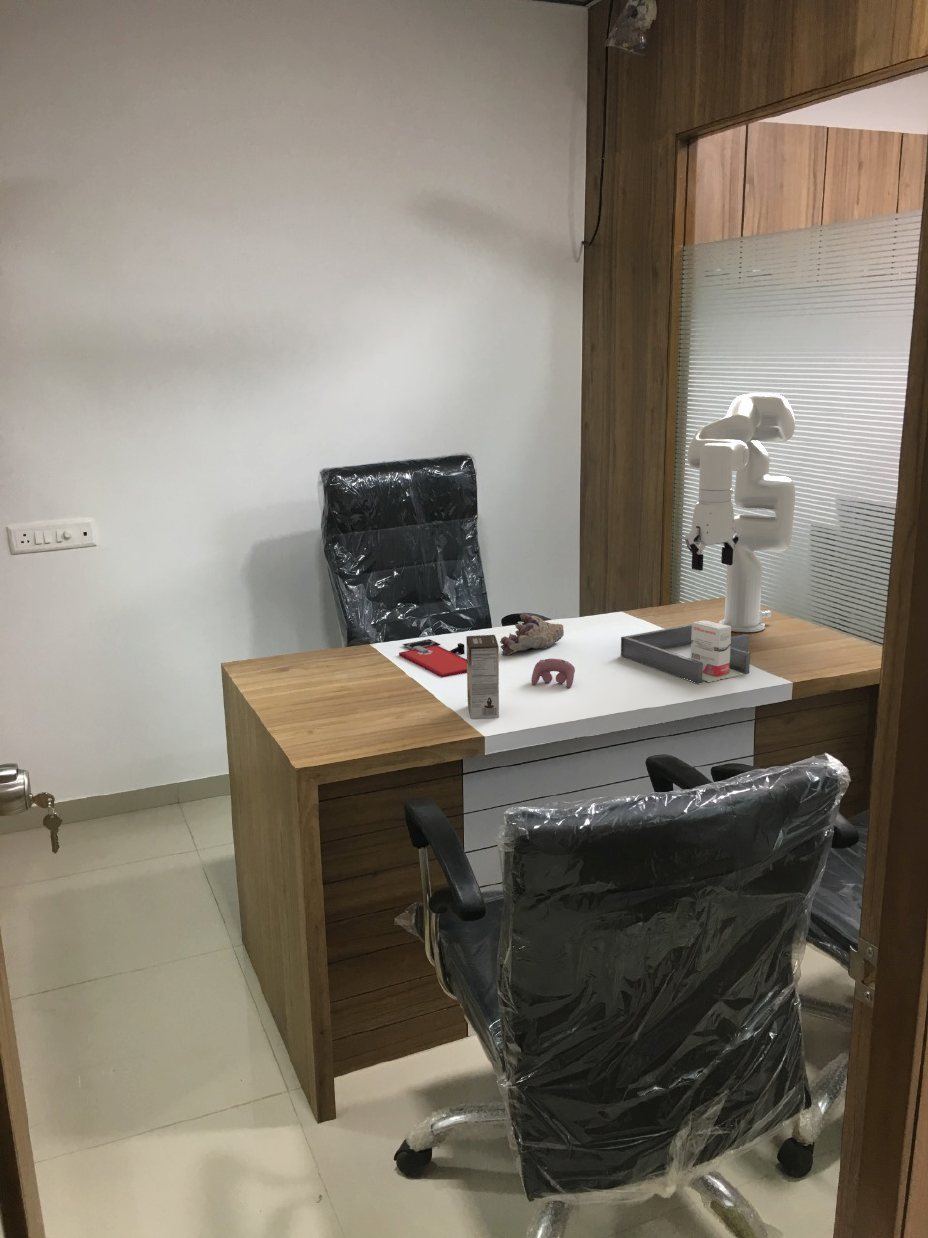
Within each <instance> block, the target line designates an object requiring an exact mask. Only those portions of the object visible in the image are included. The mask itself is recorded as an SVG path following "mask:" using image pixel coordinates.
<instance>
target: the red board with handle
mask: <svg viewBox="0 0 928 1238" xmlns="http://www.w3.org/2000/svg"><path fill="white" fill-rule="evenodd" d="M402 645H403V646H405V647H406V648H409V650H407V651H406V650H405V651H400V652H399V653H398V656H399V657H400V658H402V659H405V660H406V661H408V662H411V663H413V664H415V665H416V666H419V668H422V669H424V670H426V671H428V672H430V673H432V674H434V675H436V676H438V677H440V678H446V677H452V676H459V675H463V674H467V658H464V657H463V656H462V655H465V644H464V643H461V642H460V643H459V642H458V643H457V647H455V648H453V649H450V650H448V649H447V648H444V647H442V646H441V645H442V644H441V643H438V642H436V641H435V640H432V639H430V638H427V639H423V640H418V641H413V642H408V643H402ZM458 654H459V655H458ZM460 655H461V656H460Z"/></svg>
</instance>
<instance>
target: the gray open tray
mask: <svg viewBox="0 0 928 1238" xmlns="http://www.w3.org/2000/svg"><path fill="white" fill-rule="evenodd" d="M691 634H692V623H690V624H683V625H679V626H674V627H673V626H672V627H668V628H661V629H657V630H652V631H647V632H641V633H635V634H630V635H626V636H625V635H624V636H621V637H620V639H621V641H620V657H623V658H625V659H628V660H631V661H634V662H637V663H639V664H643V665H644V666H647V667H650V668H652V669H655V670H657V671H661V672H663V673H666V674H670V675H672V676H674V675H675V677H676V678H677V677H678V678H680V679H682V678H685V679H688V680H691V681H693V682H695V683H694V684H696V683H702V684H703V681H702V673H703V663H702V662H699V661H696V660H693V659H690V657H687V656H685V655H682V654H678V653H675V652H672V651H670V650H668V649H671V648H677V647H682V646H687V645H691ZM749 647H750V634H747V633H744V634H743V633H742V634H737V635H735V636H731V645H730V668H729V669H731V670H734V671H737V672H740V673H743V674H749V673H750V667H751V652H750V651H749V649H750V648H749ZM666 649H667V650H666ZM685 679H684V680H685ZM688 680H687V681H688ZM691 681H690V682H691ZM693 682H692V683H693Z"/></svg>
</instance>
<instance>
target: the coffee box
mask: <svg viewBox="0 0 928 1238" xmlns="http://www.w3.org/2000/svg"><path fill="white" fill-rule="evenodd" d="M496 637H497V636H496V635H495V634H485V635H484V634H482V635H480V634H479V635H467V636H466V639H465V641H466V659H467V673H466V681H467V682H466V685H467V686H466V688H467V689H466V690H467V693H466V694H467V708H468V713H469V717H470V719H471V720H475V719H476V720H477V719H481V720H482V719H496V718H497V719H498V718H500V711H499V710H500V708H499V707H500V699H499V698H500V690H499V689H500V687H499V684H500V681H499V680H500V678H499V675H500V674H499V673H500V672H499V671H500V669H499V667H500V666H499V663H500V661H499V660H500V659H499V658H500V657H499V655H500V653H499V647H500V646H499V643H498V640H497V638H496Z"/></svg>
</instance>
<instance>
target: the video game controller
mask: <svg viewBox="0 0 928 1238" xmlns="http://www.w3.org/2000/svg"><path fill="white" fill-rule="evenodd" d="M575 671H576V667H575V666H574V665H573V664H572V663H570V662H569V661H567V660H564V659H560V658H545V659H540V660H538V662H536V664H535V666H534V668H533V671H532V674H531V680H530V681H531V685H532V686H536V685H537V684H538V682H539V680H540V678H541V679H542V680H543V683H544V682H545V683H551V682H552V681H553V675H552V673H551V672H558V673H557V674H556V675H555V681H556V682H557V684H560V685H561V684H562V685H563V684H565V683H566V687H567V689H570V688H571V687H572V685H573V683H574V677H575Z"/></svg>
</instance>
